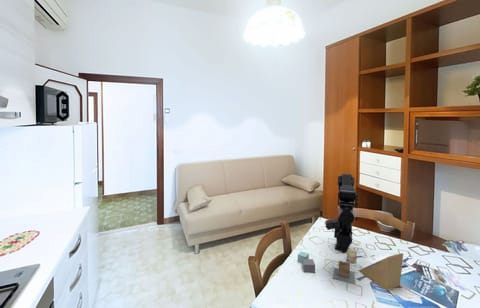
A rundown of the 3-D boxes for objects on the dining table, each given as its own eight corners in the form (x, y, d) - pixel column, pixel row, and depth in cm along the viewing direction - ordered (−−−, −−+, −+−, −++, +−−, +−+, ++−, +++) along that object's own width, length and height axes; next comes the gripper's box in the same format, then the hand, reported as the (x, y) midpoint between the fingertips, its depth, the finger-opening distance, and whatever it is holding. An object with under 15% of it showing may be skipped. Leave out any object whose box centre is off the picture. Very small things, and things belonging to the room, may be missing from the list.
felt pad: (334, 267, 119) (334, 267, 119) (354, 272, 116) (354, 271, 116) (332, 278, 111) (332, 277, 111) (354, 283, 108) (354, 283, 108)
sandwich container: (370, 267, 121) (372, 237, 119) (400, 286, 107) (403, 253, 105) (356, 270, 118) (359, 240, 116) (386, 290, 104) (389, 256, 102)
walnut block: (338, 270, 116) (339, 260, 116) (349, 273, 115) (349, 262, 114) (338, 276, 112) (338, 265, 112) (349, 278, 111) (349, 268, 110)
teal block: (301, 258, 128) (301, 251, 127) (308, 261, 125) (308, 253, 125) (297, 261, 125) (297, 254, 124) (305, 264, 122) (305, 257, 122)
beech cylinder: (346, 257, 129) (347, 248, 128) (355, 259, 127) (356, 250, 126) (346, 262, 125) (347, 252, 124) (356, 264, 123) (356, 254, 122)
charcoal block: (301, 266, 121) (302, 258, 120) (312, 267, 120) (312, 259, 120) (303, 272, 116) (304, 264, 115) (314, 273, 115) (315, 265, 115)
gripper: (328, 206, 125) (326, 236, 127) (325, 220, 108) (323, 254, 110) (353, 210, 120) (350, 240, 122) (353, 224, 103) (350, 259, 105)
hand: (343, 248), depth 115 cm, fingers open, 9 cm apart
